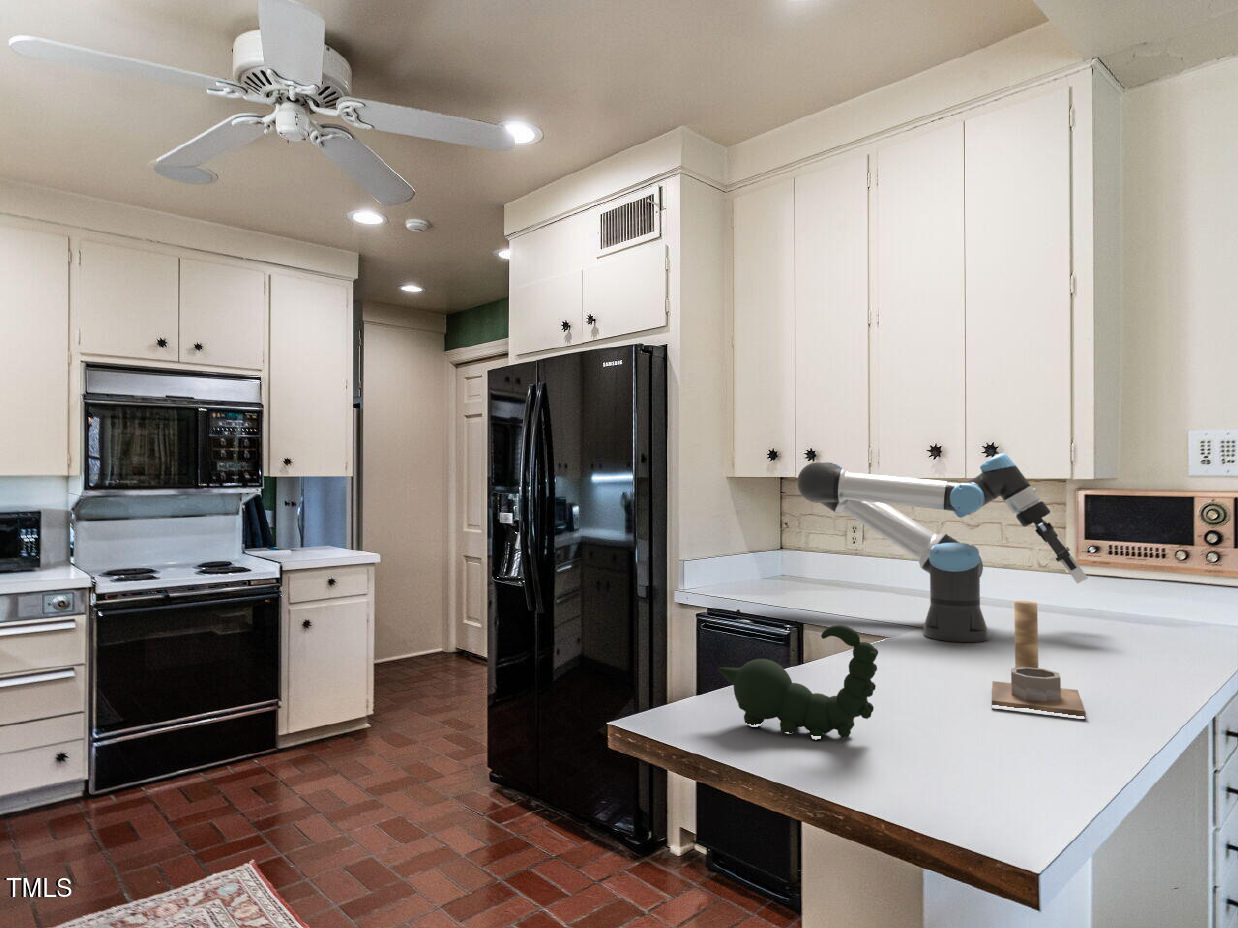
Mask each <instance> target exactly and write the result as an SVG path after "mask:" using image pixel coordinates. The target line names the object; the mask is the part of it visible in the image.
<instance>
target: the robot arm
mask: <svg viewBox="0 0 1238 928" xmlns="http://www.w3.org/2000/svg"><path fill="white" fill-rule="evenodd" d="M979 469H980V471H981V472H980V474H979V475H977V476H976V477H973V478H971V479H970V480H968V481H967V482H962V481H961V482H958V481H946V480H938V479H937V480H936V479H926V478H918V477H917V478H916V477H905V476H894V475H883V474H875V473H873V474H870V473H861V472H851V471H848V469H846V468H845V467H842V466H840V465H838V464H836V463H833V462H818V461H817V462H816V461H815V462H810V463H809V464H807V465H806V466H804V467H803V468H802V469H801V470H800V472H798V473H799V474H798V476H797V480H796V483H797V489H798V492H799V493H800V495H801V496H802V497H803V498H804V499H806V500H807V501H809V502H811V503H816V504H817V503H818V504H819V503H820V504H822V506H824V507H826V508H827V509H829V510H831V511H832V512H834V513H835V514H838V513H845V514H847V516H850V517H851V518H852V519H854V520H856V521H858V522H859V523H861V524H862V525H863V526H865V527H866V528H868V529H870V530H871V531H873V532H874V533H876V534H878V535H879V536H880V537H882V538H884V539H886V540H887V541H889V542H890V543H892V544H893V545H895V546H896V547H898V548H899V549H901V550H902V551H904V552H905V553H906V554H908V555H910V556H912V557H913V558H915V559H916V560H918V563H919V567H920V568H921V569H922V570H923V571H925V572H926V573H928V574H929V586H930V587H929V589H930V590H929V591H930V593H929V595H930V598H929V599H930V602H929V603H930V604H929V608H928V611H927V614H926V616H925V617H926V618H925V620H924V624H923V636H925V637H927V638H930V639H934V640H938V641H946V642H953V643H954V642H955V643H980V642H985V641H988V640H989V629H988V626H987V623H986V620H985V618H984V614H983V613H982V609H981V589H980V588H981V586H980V582H981V581H980V579H981V577H982V575H983V571H984V568H983V567H984V566H983V565H984V563H983V560H982V557H981V556H980V552H979V551H980V550H979V549H978V547H976V546H975V545H973V544H968V543H964V542H963V543H962V542H960V541H958V540H957V539H955V538H953V537H952V536H950V535H948V534H947V533H945V532H944V533H938V534H937V533H934V532H933V531H931V530H930V529H928V528H927V527H925V526H923V525H922V524H920V523H919V522H917V521H915V520H914V519H912V518H911V517H909V516H907V515H906V514H904V513H902V512H901V511H899V510H898V509H896V508H894V507H893V506H892V505H896V506H902V507H903V506H905V507H913V508H914V507H915V508H922V509H923V508H924V509H933V510H940V511H941V510H943V511H949V512H953V513H954V514H955V515H956V516H957V517H958V518H960V519H962V518H964V517H966V516H969V515H971V514H974V513H976V512H978V511H979V510H980V509H981V508H982V507H984V506H985V505H987V504H989V503H990V502H992V501H994V500H995V499H998V498H999V497H1001V498H1002V500H1003V502H1004V503H1005V504H1006V506H1007V507H1008V509H1009V510H1010V511H1011V512H1012V514H1016V517H1015V518H1016V519H1017V520H1018V521H1019V523H1020V524H1021V526H1022V527H1025V528H1026V527H1029V526H1030V525H1032V524H1034V525H1035V530H1034V531H1035V532H1036V533H1037V535H1038V537H1040V538H1041V539H1042V540H1043V542H1044V543H1047V544H1048V545H1049V547H1050V548H1051V549H1052V550H1053V552H1054V553H1055V554H1056V557H1055V561H1056V562H1061V564H1062V565H1063V566H1064V568H1065V570H1067V572H1068V573H1069V575H1070V576H1071V577H1072V579H1073V580H1074V581H1075V583H1076V584H1080V583H1081V582H1083V581H1086V580H1088V578H1089V577H1088V576H1087V574H1086V573H1085V572H1084V571H1083V569H1082V568H1081V567H1080V565H1079V564H1078V562H1077V561H1076V560H1075V559H1074V557H1073V556H1072V555H1071V553H1070V551H1071V549H1070V548H1069V546H1067V547H1065V545H1064V544H1062V542H1061V541H1060V540H1059V539H1058V534H1057V532H1056V531H1055V530H1054V527H1053V525H1052V524H1051V522H1047V521H1046V520H1045V519H1043V518H1044V517H1046V516H1047V515H1050V514H1051V510H1050V509H1049V507H1048V506H1047V504H1046V503H1045V502H1044V501H1042V500H1041V501H1040V499H1041V497H1040V496H1039V494H1037V493H1036V492H1038V489H1037V488H1036V487H1034V488H1033V487H1032V486H1031V484H1030V483H1029V481H1028V480H1027V479H1026V476H1024V474H1023V473H1022V472H1021V470H1020V469H1019V468H1018V466H1017V464H1015V462H1013V460H1012V459H1011V458H1010V457H1009V455H1007V454H1006V453H998V454H996V455H994V456H993V457H991V458H989V459H987V460H986V461H985V462H983V463H982V464H980V466H979Z"/></svg>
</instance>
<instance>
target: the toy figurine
mask: <svg viewBox="0 0 1238 928" xmlns="http://www.w3.org/2000/svg"><path fill="white" fill-rule="evenodd" d="M820 637H821V639H823V640H824V639H825V640H826V639H827V638H829V637H835V638H838V639H840V640H841V641H843V643H844V644H846V645H847V646H849V647H853V648H852V649H853V650H852V656H853V658H851V659H850V661H849V664H848V674H847V675H846V676H845V678H844V680H843V687H842V688H841V689H840V690H839V691H838V692H837V694H836V695H831V696H828V695H825V694H823V693H818V692H817V693H816V692H815V693H812V691H811V690H810V688H808V687H807V686H805V685H804V684H801V683H797V682H792V679H791V676H790V674H789V673H788V672H787V671H786V669H785V668H783V666H782V665H780V664H779V663H777V662H775V661H773V660H770V659H768V658H757V659H753V660H750V661H748V662H746V663H745V664H743V665H742V666H741V667H737V668H736V667H718V668H717V671H718V673H719V674H721V675H722V677H724V678H725V679H726V680H727V681H728V682H730V683H731V685H733V693H734V697H735V700H736V703H737V704H738V705H737V706H738V708H739V709H740V710H743V712H744V714H743V719H744V721H743V722H744V723H745V724H746V723H747V724H751V725H754V724H755V725H756V724H761V723H762V722H763V723H764V721H765V720H772V719H775V718H777V719H778V720H779V721H780V723H779V728H780V731H781V732H782V731H783V732H782V733H784V732H789V733H792V732H793V733H795V732H796V731H797V728H802V727H803V728H804V729H806V730H807V731H808V730H809V731H808V732H809V734H810V735H813V736H822V735H823V736H824V734H823V733H825V734H827V733H828V732H829V733H830V732H832V731H833V730H836V731H837V735H838V736H840V737H841V738H843V737H845V738H849V737H850V735H851V733H852V729H853V728H854V727H855V721H854V720H855V718H858V717H861V718H863V719H865V720H868V719H869V718H871V717H872V713H874V705H873V704H872V703H871V702H869V701H868V698H870V697H872V696H873V695H874V691H875V690H876V684H875V682H873V681H872V679H873V678H874V676H875V675H876V672H877V670H878V667H877V664H876V663H875V661H876V659H877V657H878V654H879V650H878V649H877V648H876V647H874V645H873V644H872V643H870V642H867V641H860V635H859V633H858V632H857V631H856V630H855V629H854V628H851V627H850V626H847V625H843V624H836V625H835V624H834V625H831V626H829V627H827V628H826V629H825V630H824V631H823V632H822V633H821V636H820ZM793 733H792V734H793ZM809 734H808V735H809ZM810 735H809V736H810ZM823 736H822V737H823Z"/></svg>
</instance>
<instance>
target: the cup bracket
mask: <svg viewBox="0 0 1238 928" xmlns="http://www.w3.org/2000/svg"><path fill="white" fill-rule="evenodd" d="M1010 672H1011V673H1010V674H1011V682H1004V681H1003V682H1002V681H992V685H991V686H992V688H991V706H992V705H999V706H1007V707H1014V708H1029V709H1034V710H1041V711H1047V712H1054V713H1062V714H1068V715H1076V716H1084V717H1085V718H1086V709H1085V706H1084V704H1083V701H1082V699H1081V695H1080V693H1079V690H1078V689H1070V688H1061V686H1062V685H1061V684H1062V683H1061V682H1062V681H1061V674H1060V672H1057V671H1053V670H1049V669H1046V668H1039V667H1038V668H1029V667H1021V668H1015V667H1012V668H1011V669H1010Z"/></svg>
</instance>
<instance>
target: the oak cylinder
mask: <svg viewBox="0 0 1238 928" xmlns="http://www.w3.org/2000/svg"><path fill="white" fill-rule="evenodd" d="M1013 609H1014V610H1013V611H1014V612H1013V615H1014V616H1013V617H1014V619H1013V620H1014V663H1015V667H1014V668H1021V667H1029V668H1039V634H1038V633H1039V629H1038V625H1039V623H1038V618H1039V617H1038V602H1036V601H1030V600H1015V601H1013Z"/></svg>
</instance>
